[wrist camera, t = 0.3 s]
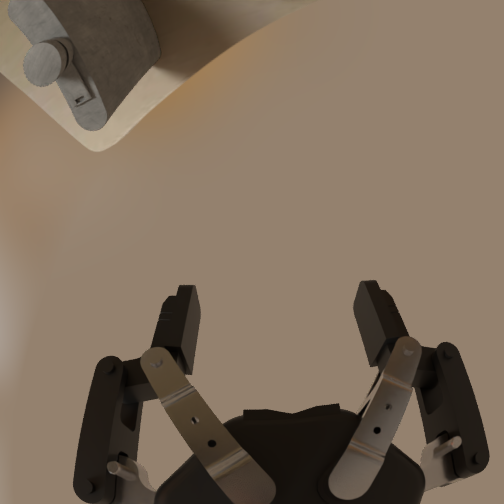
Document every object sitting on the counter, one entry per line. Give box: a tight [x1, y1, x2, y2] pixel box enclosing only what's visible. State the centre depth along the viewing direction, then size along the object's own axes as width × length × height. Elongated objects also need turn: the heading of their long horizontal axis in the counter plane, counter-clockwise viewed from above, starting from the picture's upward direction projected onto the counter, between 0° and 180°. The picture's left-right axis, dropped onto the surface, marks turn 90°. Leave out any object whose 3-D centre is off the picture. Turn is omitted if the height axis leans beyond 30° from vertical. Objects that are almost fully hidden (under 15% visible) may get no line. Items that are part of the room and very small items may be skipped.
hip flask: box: [8, 0, 161, 131], centre depth 17 cm, size 16×4×20 cm, turn 16°
